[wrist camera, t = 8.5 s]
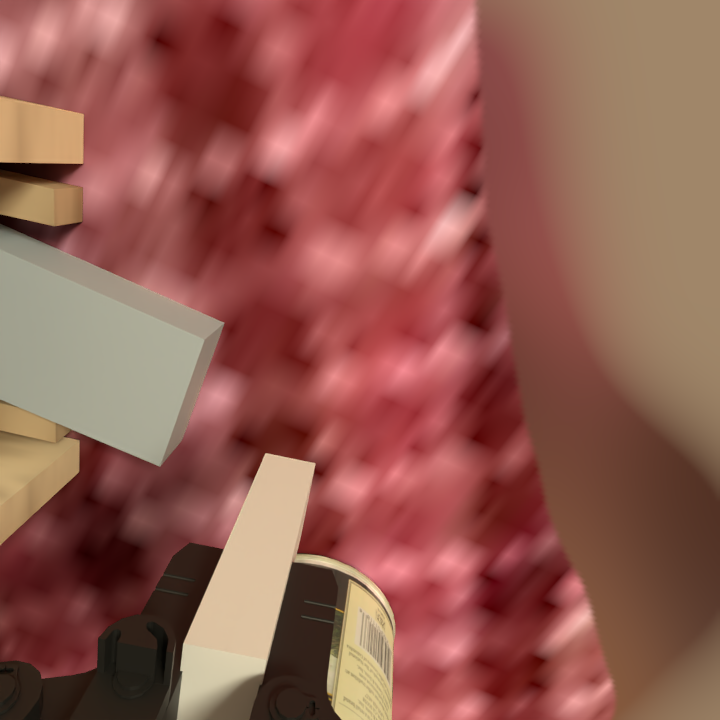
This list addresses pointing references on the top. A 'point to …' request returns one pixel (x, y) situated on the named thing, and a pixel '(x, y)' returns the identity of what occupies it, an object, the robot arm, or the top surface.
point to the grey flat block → (98, 349)
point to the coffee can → (359, 645)
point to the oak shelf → (51, 207)
